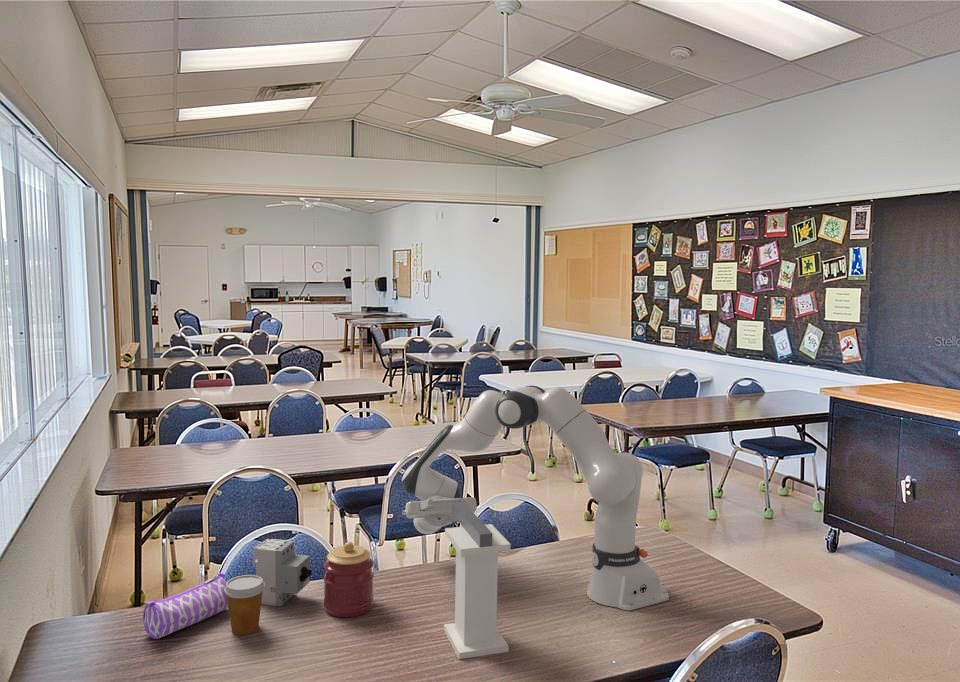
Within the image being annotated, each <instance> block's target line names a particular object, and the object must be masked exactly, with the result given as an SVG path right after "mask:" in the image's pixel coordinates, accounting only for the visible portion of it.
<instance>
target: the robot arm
mask: <svg viewBox="0 0 960 682" xmlns="http://www.w3.org/2000/svg"><path fill="white" fill-rule="evenodd" d="M538 421H541V422H543V423H544V424H546V425H547V426H548V427H549V428H550V429H551V431H552V432H553V433H554V434H555V436H556V437H557V438H558V439H559V440H560V442H561V443H562V444H563V446H564V447H565V448H566V449H567V450H568V452H569V453H570V455H571V456H572V457H573V459H574V460H575V461H576V464H577V465H578V468H579V469H580V471H581V473H582V475H583V478H584V479H585V481H586V483H587V486H588V487H587V488H588V491H589V494H590V496H591V497H592V499H594V501H596V502H597V503H598V505H597V510H596V512H595V516H594V538H593V539H594V540H593V543H592V549H591V550H592V553H591V563H592V569H591V575H590V579H589V584H588V587H587V590H586V595H587V597H588V598H589V599H590V600H592V601H593V602H595V603H598V604H600V605H604V606H607V607H612V608H619V609H620V610H623V611H634V610H637V609H640V608H644V607H647V606H651V605H656V604H659V603H660V604H661V603H663V602H666V601H669V599H670V598H669V597H670V596H669V593H668V591H667V590H666V588H665V587H663V586H662V585H661V581H660V576H659V574H658V573H657V571H655V570H654V568H652V566H650V565H648V564H647V563H646V562H645V561H644V560H643V559H646V558H647V557H648V555H649V554H648V552H647V550H645V549H644V548H640V547H639V546H638V545H636V531H637V529H636V527H637V526H636V524H637V515H638V509H639V503H640V495H641V489H642V488H641V487H642V479H643V478H642V477H643V472H644V471H643V469H644V468H643V464H642V462H641V461H640V459H639V458H638V457H637V456H636V455H634V454H632V453H630V452H616V453H615V452H614V450H613V448H612V445H610V443H609V440H608V438H607V436H606V432H605V431H604V429H603V428H602V427H601V426H600V425H599V423H598V422H597V421H596V420H595V419H594V418H593V416H592V415H591V414H590V413H589V411H588V410H587V409H586V407H584V405H583V404H582V403H581V402H580V401H579V400H578V399H577V398H576V397H575V396H574V395H572V394H571V393H570V392H569V391H568V390H566V389H565V388H563V387H561V386H556V387H555V386H554V387H551V388H549V389H547V390H544V389H543V388H542V387H540V386H538V385H526V386H523V387H522V386H521V387H516V388H514V389H512V390H510V391H508V392H505V393H504V394H502V393H501V392H500V391H497V390H492V389H489V390H484V391H483V392H481V394H480V395H479V396H478V397H477V398H476V399H475V400H474V402H473V403H472V405H471V406H470V407H469V409H468V411H467V412H466V413H465V416H464V417H463V418H462V419H461V420H460V421H459V422H457V423H455V424H447V426H445V427H444V428H443V429H441V431H440V432H439V433H438V434H437V435H436V437H434V439H433V440H432V441H431V442H430V444H428V446H427V447H426V448H425V449H424V450H423V452H422V453H421V454H420V456H418V458H417V459H416V460H415V461H414V462H413V463H412V464H411V465H410V466H408V467H407V468H406V469H405V470H404V471H405V472H404V473H403V476H402V478H401V486H402V488H403V490H404V493H405V494H408V495H410V496H413V497H417V498H418V499H420V500H412V501H408V502H406V504H405V509H404V510H402V512H401V514H402V516H406V518H407V519H409V520H410V519H413V525H414V528H415V529H416V530H417V531H418V532H419V533H421V534H423V535H431V534H433V533H436V532H437V531H439V530H440V529H441V528H442V527H446V526H448V525H450V524H455V523H459V522H458V521H457V519H456V518H455V517H454V516H453V515H452V503H454V502H464V503H465V504H466V505H467V506H468V507H469V509H470V510H471V511H472V512H473V513H474V514H475V513H476V511H477V506H478V505H477V499H476V497H474V496H471V497H462V491H461V486H460V484H459V482H458V481H456V480H454V479H452V478H450V477H448V476H447V475H444V474H442V473H440V472H439V471H436V470H434V469H433V468H431V467H430V466H431V465H432V464H433V463H434V462H435V460H436V459H437V458H438V457H439V456H440V455H441V453H443V452H445V451H449V450H452V451H453V450H455V451H462V452H463V451H464V452H470V453H475V452H476V453H477V452H481V451H484V450H486V449H488V448H489V446H490V445H491V444H492V443H493V442H494V440H496V437H497V436H498V434H499V432H500V430H501V428H502V427H505V428H508V429H522V428H525V427H526V426H527V427H528V426H531V425H533V424H534V423H536V422H538ZM641 558H642V559H641Z"/></svg>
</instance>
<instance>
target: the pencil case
mask: <svg viewBox="0 0 960 682" xmlns="http://www.w3.org/2000/svg"><path fill="white" fill-rule="evenodd" d="M225 577H226V574H224V573H223V572H219V573H218V575H214V576H213V577H212V578H210V579H208V580H206V581H204V582H203V583H200V584H199V585H196V586H194V587H191V588H188V589H187V590H185V591H182V592H179V593H177V594H175V595H172V596H169V597H165V598H163V599H155V600H151V601H144V602H143V603H145V604H146V605H145V607H144V609H143V613H142V621H143V622H142V623H143V627H144V631H145V632H146V634H147V635H148V636H150V637H151V638H152V639H154V640H159V639H161V638H164V637H165V636H166V637H167V636H168V635H170V634H172V633H174V632H177V631H179V630H183V629H185V628H187V627H190V626H192V625H194V624H197V623H199V622H202V621H204V620H205V619H208V618H210V617H212V616H214V615H217V614H219V613H221V612H223V611H226V609H228V603H227V596H226V594H225V592H224V588H225V587H226V583H227V582H228V581H227V580H226V579H225Z"/></svg>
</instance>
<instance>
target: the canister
mask: <svg viewBox="0 0 960 682" xmlns="http://www.w3.org/2000/svg"><path fill="white" fill-rule="evenodd" d="M326 559H327V560H326V561H325V562H324V564H323V569H324V570H325V573H324V576H323V581H324V582H323V583H324V586H323V589H324V591H323V593H324V594H323V595H324V596H323V597H324V598H323V606H324V610H325V612H326V613H327V614H328V615H331V616H333V617H337V618H353V617H358V616H361V615H364V614H366V613H367V612H369V611H370V610H371V609H372V608H373V603H374V576H375V575H374V572H373V571H372V570H373V569H372V568H373V567H374V564H375V563H374V560H373V559H372V557H371V552H370V551H369V550H368V549H366V548H365V547H363V546H360V545H355V544H354V543H353V542H351V541H347V542H345V544H343V545H341V546H337V547H335V548H334V549H332V550H331V551H330V552H328V553H327V555H326Z"/></svg>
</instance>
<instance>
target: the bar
mask: <svg viewBox="0 0 960 682" xmlns="http://www.w3.org/2000/svg"><path fill="white" fill-rule="evenodd" d="M452 515H453V516H454V517H455V518H456V519H457V521H458V522H457V523H459V525H461V527H463V528H464V529H465V530H466V531H467V533H468V534H469V535H470V536H471V537H472V539H473V540H474V541H475V542H476V543H477V545H478V546H479V547H488V546H492V532H491V531H490V530H489V529H488V528H487V527H486V526H485V525H486V524H484V523H483V521H482V520H481V519H480V518H479V517H478V516H477V515H476V514H475V512H474V513H473V512H472V511H471V510H470V509H469V507H468V506H467V505H466V504H465V503H464V502H454V503H452Z"/></svg>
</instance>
